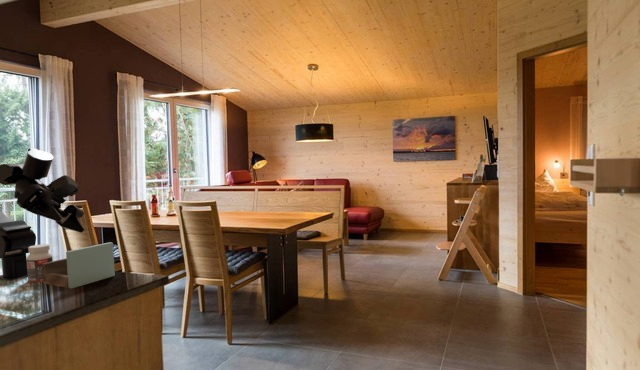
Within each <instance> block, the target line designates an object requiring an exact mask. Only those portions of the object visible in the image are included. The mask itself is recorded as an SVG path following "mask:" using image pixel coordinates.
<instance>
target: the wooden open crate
mask: <svg viewBox="0 0 640 370" xmlns="http://www.w3.org/2000/svg"><path fill="white" fill-rule="evenodd" d="M42 270H43V282H42V283H43V285H49V286H55V287H59V288H61V287H62V288H66V289H70V288H69V286H68V272H67V258H66V257H65V258H61V259H57V260H53V261H52V262H48V263H43V264H42Z"/></svg>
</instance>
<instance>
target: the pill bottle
mask: <svg viewBox="0 0 640 370" xmlns="http://www.w3.org/2000/svg"><path fill="white" fill-rule="evenodd" d="M50 249H51V247H50V244H49V243H46V244H45V243H43V244H42V243H41V244H35V245H34V246H30V247H28V250H29V252H30V253H29V254H28V255H26V258H27V272H28V276H27V283H29V284H36V283H37V284H38V283H43V270H42V264H43V263H48V262H52V261H54V260H53V254H52V253H51V252H49V250H50Z"/></svg>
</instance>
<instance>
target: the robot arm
mask: <svg viewBox="0 0 640 370" xmlns="http://www.w3.org/2000/svg"><path fill="white" fill-rule="evenodd" d="M27 149H28V150H27V152H26V158H25V161H24V163H23V162H22V163H20V162H19V163H2V164H0V185H3V186H12V185H14V194H13V195H14V198H15V199H16V204H17V205H18V206H19V207H20V208H22V209H23V210H25V211H27V212H29V213H32V214H33V215H37V216H40V217H43V218H46V219H49V220H52V221H55V223H56V224H57V225H58V226H60V227H61V228H63V229H66V230H68V231H69V230H70V231H73V232H78V233H80V234H82V233H84V231H85V228H84V226H83V223H82V222H81V218H82V217H83V216H84V215H85V212H84V211H83V210H82V209H81V208H80V207H77V206H76V205H74V204H68V205H67V206H66V207H65V208H64V209H61V207H62V205H63V204H64V203H65V202H66V201H67V200H66V198H67V197H73V196H75V195H77V194H78V193H80V188H81V187H80V185H78V183H77V182H76V180H75V179H73V178H72V177H70V176H68V175H67V174H64V175H62V176H60V177H58V178H56V179H54V180H52V181H51V182H50V183H49V184H48V185H47V184H45V183H43V182H42V181H41V179H44V178H47V177H48V175H49V172H50V169H51V166H52V162H53V160H54V156H53V154H52V153H50V152H47V151H44V150H40V149H38V148H37V147H29V148H27ZM36 242H37V235H36V233H35V232H34V231H33V230H32V226H30V225H29V224H28V223H27V222H26V221H25V220H23V219H21V220H20V219H18V220H13V221H12V220H11V219H10V218H9V216H7V215H6V214H5V213H4V212H3V211H1V210H0V260H1V271H2V274H1V275H0V279H1V280H7V281H11V280H17V279H20V278H23V277H28V272H27V254H30V252H29V250H28V247H30V246H34V245H36Z"/></svg>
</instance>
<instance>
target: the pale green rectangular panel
mask: <svg viewBox="0 0 640 370" xmlns="http://www.w3.org/2000/svg"><path fill="white" fill-rule="evenodd" d="M65 252H66V253H65V258H67V272H68V286H69V288H68V289H74V288H78V287H82V286H85V285H88V284H91V283H95V282H98V281H102V280H105V279H108V278H112V277H115V276H116V273H115V272H116V271H115V256H114V243H113V242H110V241H109V242H105V243H101V244H95V245H90V246H86V247H82V248H77V249H71V250H67V251H65Z"/></svg>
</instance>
